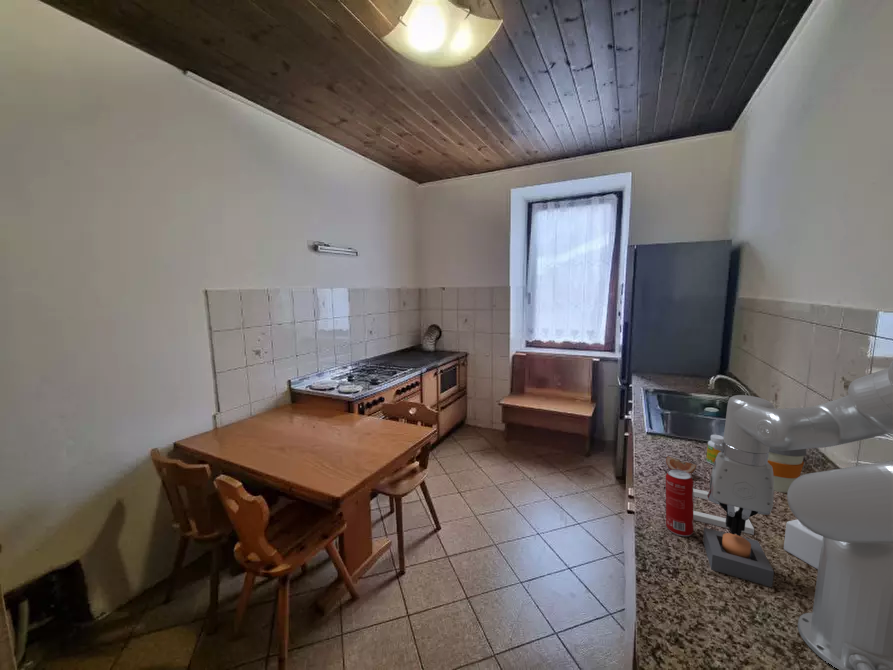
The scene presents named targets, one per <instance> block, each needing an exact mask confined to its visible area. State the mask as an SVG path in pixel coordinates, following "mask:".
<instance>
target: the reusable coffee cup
mask: <svg viewBox="0 0 893 670" xmlns="http://www.w3.org/2000/svg"><path fill="white" fill-rule="evenodd" d="M806 455H807V449H800V450H789V451H781V450H775V449H772V448H769V456H768V463H769V464H770V465H771V466H772V468H773V476H774V492H778V493H779V492H780V493H786V494H787V492H788V489H789V486H790V485H791V483H792V482H793V481H794V480H795V479H796V478H798V477H800V476H801V474H802V470H803V467H804V464H805V462H804V457H805V456H806Z"/></svg>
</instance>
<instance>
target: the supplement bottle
mask: <svg viewBox="0 0 893 670" xmlns="http://www.w3.org/2000/svg"><path fill="white" fill-rule="evenodd" d="M723 438H724V435H723V436H722V435H719V434H711V435H710V440H708V441H707V446H706V447H707V448H706V459H705V461H706V463H708V464H709V463H710V464H709V465H712V466H714V462H715V460H716V457H717V455H718V453H719V452H721V451H719V450H716V449H714V444H715V443H717V444H719V443H720V444H721V442H722V440H723Z"/></svg>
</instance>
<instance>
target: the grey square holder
mask: <svg viewBox="0 0 893 670" xmlns="http://www.w3.org/2000/svg"><path fill="white" fill-rule="evenodd" d="M725 533H726V532H724V531H720V530H716V529H712V528H707V527H704V528H703V536H702V542H703V545H704V550H705V552H706V557H707V561H708V565H709V566H710V570H712V571H715V572H719V573H722V574H725V575H729V576H731V577H732V576H733V577H734V578H739V579H742V580H745V581H749V582H752V583H756V584H758V585H759V584H760V585H762V586H764V587H765V586H766V587H770V588H773V582H774V574H775V573H774V572H775V571H774V569H773V567H772V566H771V564H770V562H769V559H768V558H767V555H766V554H765V552H764V550H763V548H762V545H761V544H760V542H759V541H758V540H756V539H752V538H747V537H743V536H742V537H743V538H745V539H746V540H747V541H749V542H750V544H751V551H750V558H748V559H747V558H743V557H739V556H736V555H732V554H728V553H727V552H725V551H724V550H723V548H722V539H723V534H725Z"/></svg>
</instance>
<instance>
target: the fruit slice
mask: <svg viewBox="0 0 893 670" xmlns="http://www.w3.org/2000/svg"><path fill="white" fill-rule="evenodd" d="M665 463H666V466H667V468H668V470H670V469H679V470H683V471H686V472H688V473H690V474H691V475H692V474H693V473H694V472H695V471H696V470H697V466H698V465H697V464H696V463H695V464H694V463H692V462H688V461H681V460H680V459H678V458H675V457H672V456H669V455H667V456H666V459H665Z"/></svg>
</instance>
